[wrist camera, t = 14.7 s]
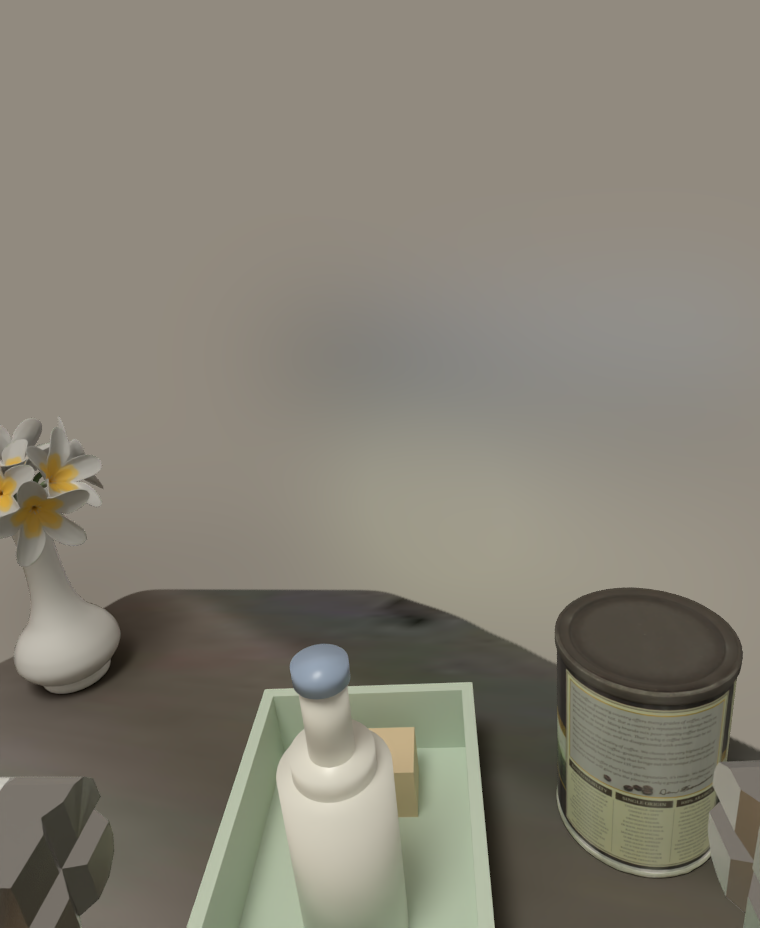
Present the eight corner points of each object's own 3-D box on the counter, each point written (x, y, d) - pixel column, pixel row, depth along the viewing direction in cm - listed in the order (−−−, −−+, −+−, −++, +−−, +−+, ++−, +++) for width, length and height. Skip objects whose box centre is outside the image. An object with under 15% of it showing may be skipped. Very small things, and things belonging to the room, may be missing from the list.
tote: (475, 744, 51) (471, 682, 48) (507, 1101, 31) (503, 1022, 29) (277, 749, 52) (265, 689, 50) (184, 1092, 32) (157, 1016, 30)
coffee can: (530, 768, 48) (527, 604, 43) (657, 734, 50) (669, 573, 45) (604, 902, 39) (612, 713, 34) (758, 854, 40) (787, 668, 35)
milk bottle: (410, 874, 41) (385, 623, 34) (406, 981, 35) (376, 705, 28) (315, 874, 41) (271, 626, 35) (296, 978, 36) (241, 707, 29)
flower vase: (59, 761, 53) (-44, 478, 44) (-21, 674, 65) (-116, 436, 56) (195, 672, 62) (133, 421, 53) (103, 610, 74) (39, 395, 65)
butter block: (418, 769, 48) (414, 726, 47) (418, 817, 45) (413, 772, 43) (324, 771, 49) (317, 729, 48) (316, 818, 45) (308, 774, 44)
